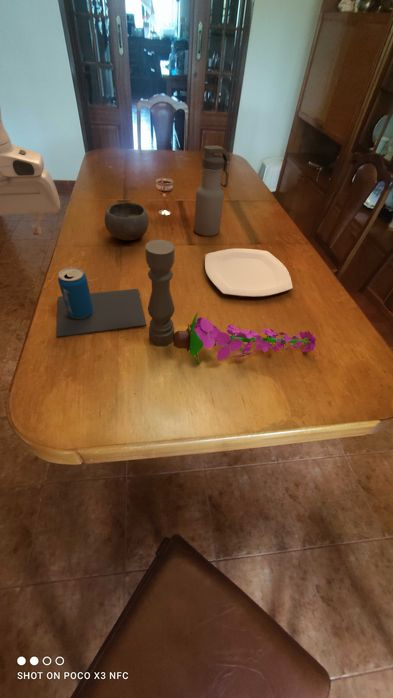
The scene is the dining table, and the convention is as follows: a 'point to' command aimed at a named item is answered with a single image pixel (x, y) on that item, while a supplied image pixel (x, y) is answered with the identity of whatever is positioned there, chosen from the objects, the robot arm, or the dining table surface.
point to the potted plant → (234, 339)
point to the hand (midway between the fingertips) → (14, 234)
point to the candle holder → (160, 291)
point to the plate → (247, 272)
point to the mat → (103, 314)
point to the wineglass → (164, 191)
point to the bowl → (126, 220)
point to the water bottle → (211, 191)
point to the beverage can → (75, 292)
